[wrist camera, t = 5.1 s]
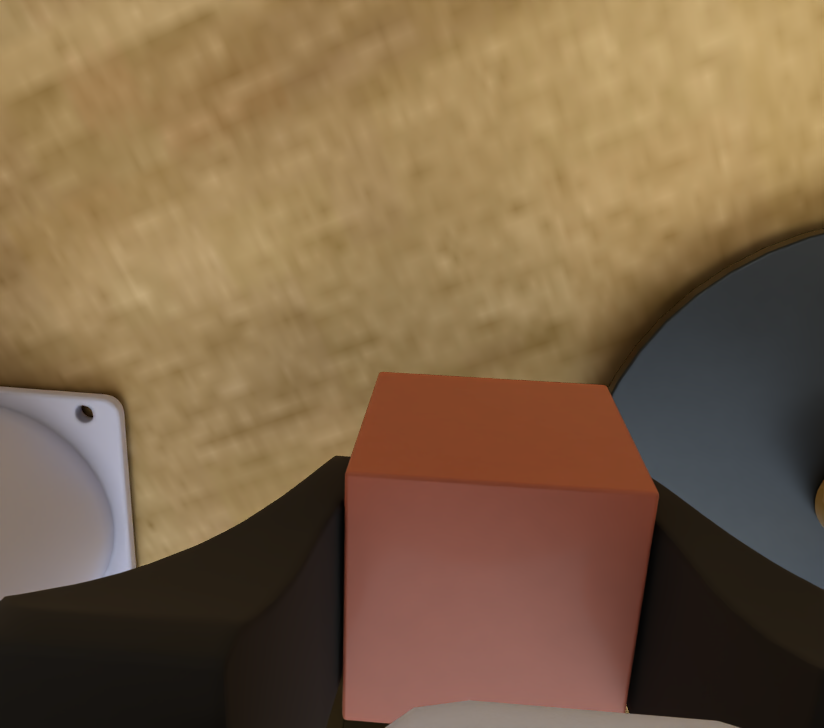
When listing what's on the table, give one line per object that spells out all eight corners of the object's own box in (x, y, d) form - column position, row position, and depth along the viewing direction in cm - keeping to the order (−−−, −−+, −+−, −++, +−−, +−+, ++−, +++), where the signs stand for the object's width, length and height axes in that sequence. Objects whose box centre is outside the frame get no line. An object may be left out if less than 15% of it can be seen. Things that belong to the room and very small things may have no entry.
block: (374, 565, 15) (341, 721, 11) (379, 370, 14) (344, 472, 10) (582, 580, 15) (621, 744, 11) (607, 384, 13) (661, 493, 10)
